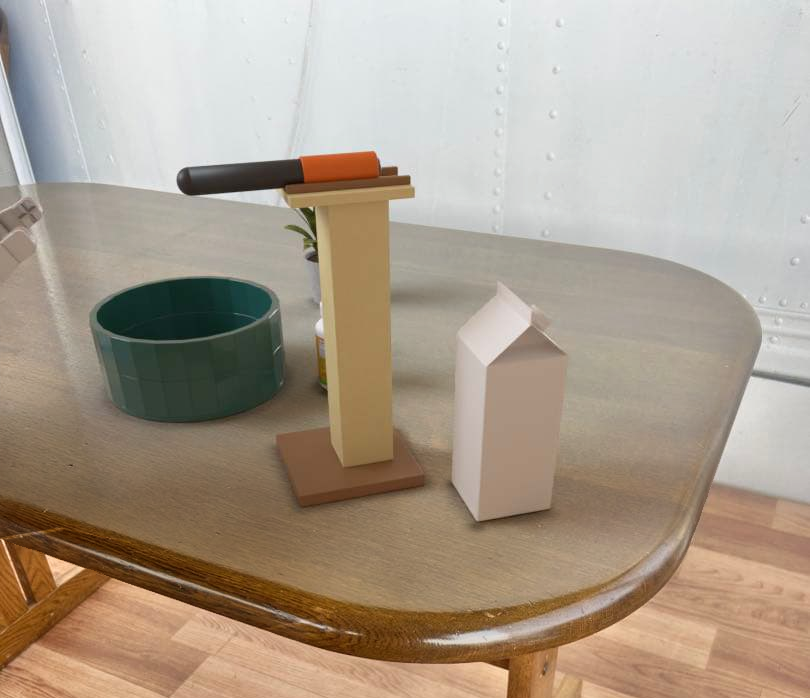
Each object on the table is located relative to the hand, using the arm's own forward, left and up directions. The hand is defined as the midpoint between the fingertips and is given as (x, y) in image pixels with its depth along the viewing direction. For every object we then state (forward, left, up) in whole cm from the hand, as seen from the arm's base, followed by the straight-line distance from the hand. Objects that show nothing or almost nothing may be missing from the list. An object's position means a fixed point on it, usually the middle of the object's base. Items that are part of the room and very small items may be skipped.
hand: (33, 219), depth 63 cm
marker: (+19, -4, +2) cm, 19 cm away
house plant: (+32, +40, -25) cm, 57 cm away
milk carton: (+35, -14, -25) cm, 45 cm away
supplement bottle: (+27, +14, -25) cm, 39 cm away
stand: (+23, -4, -24) cm, 34 cm away
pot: (+11, +20, -24) cm, 34 cm away
